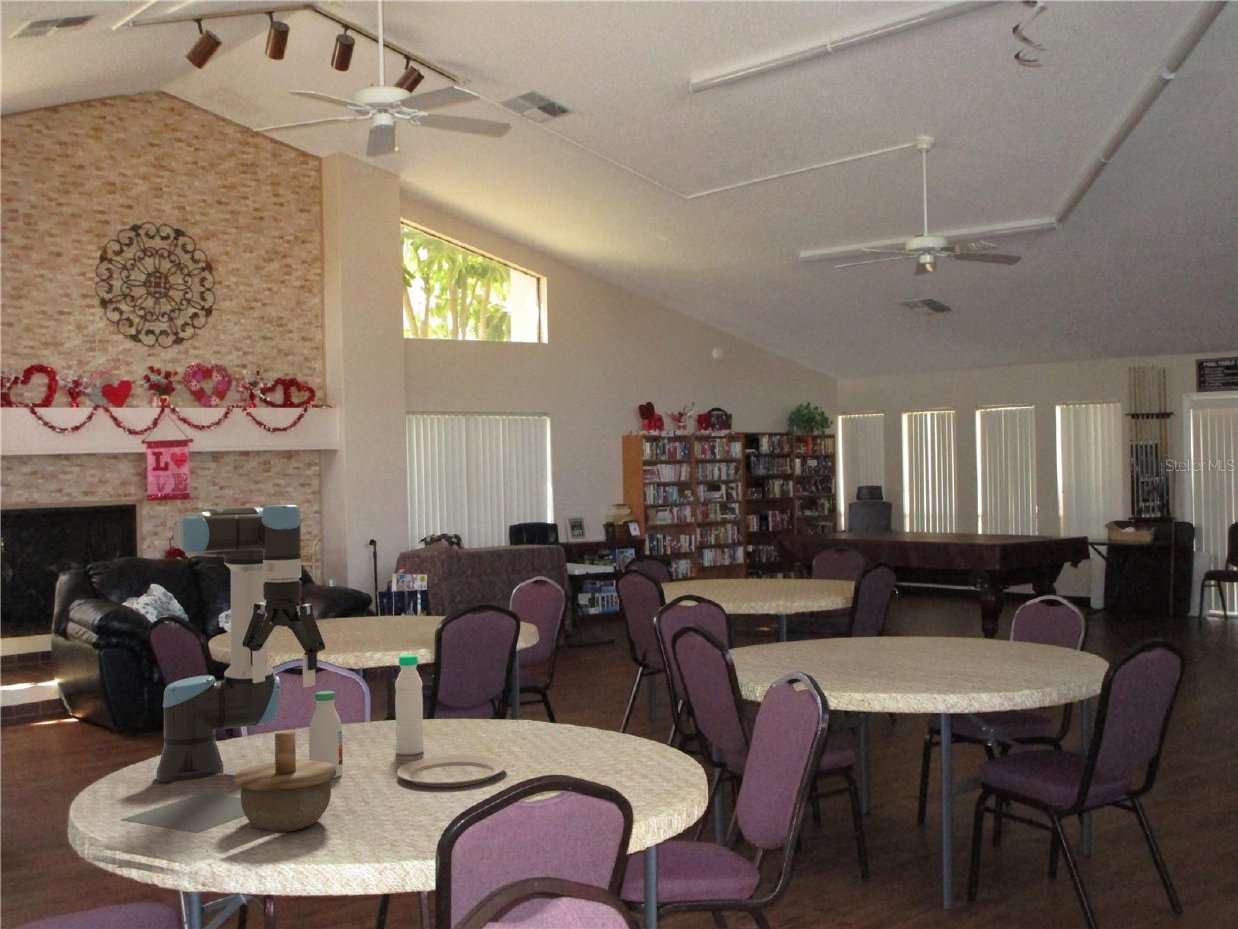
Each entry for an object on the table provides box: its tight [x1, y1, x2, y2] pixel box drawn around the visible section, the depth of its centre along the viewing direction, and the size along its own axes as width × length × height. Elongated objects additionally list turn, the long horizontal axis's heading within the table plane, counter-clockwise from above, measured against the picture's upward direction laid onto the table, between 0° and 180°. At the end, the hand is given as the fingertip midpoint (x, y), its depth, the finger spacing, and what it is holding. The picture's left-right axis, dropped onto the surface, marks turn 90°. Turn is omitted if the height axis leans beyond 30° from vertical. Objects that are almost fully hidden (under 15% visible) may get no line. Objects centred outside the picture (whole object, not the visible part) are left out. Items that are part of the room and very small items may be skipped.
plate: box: [396, 754, 506, 788], centre depth 262 cm, size 26×26×2 cm
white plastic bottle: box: [394, 654, 425, 756], centre depth 287 cm, size 7×7×25 cm
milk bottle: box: [308, 690, 344, 779], centre depth 264 cm, size 8×8×20 cm
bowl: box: [240, 779, 332, 833], centre depth 225 cm, size 17×18×10 cm
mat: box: [120, 792, 246, 834], centre depth 233 cm, size 22×22×1 cm
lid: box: [233, 730, 336, 791], centre depth 225 cm, size 20×20×9 cm
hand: (283, 684), depth 226 cm, fingers open, 13 cm apart
